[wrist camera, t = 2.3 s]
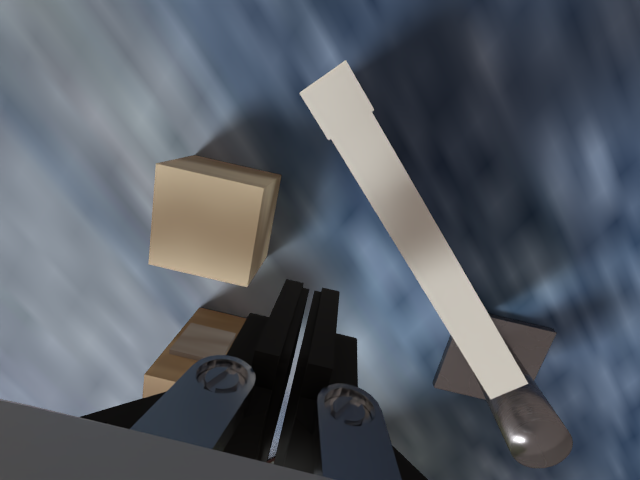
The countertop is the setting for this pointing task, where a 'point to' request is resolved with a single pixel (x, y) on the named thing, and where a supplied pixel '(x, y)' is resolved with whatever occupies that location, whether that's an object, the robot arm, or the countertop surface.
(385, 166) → the white long bar
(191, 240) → the tan cube
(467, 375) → the knob on square plate
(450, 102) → the countertop surface
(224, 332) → the stile
